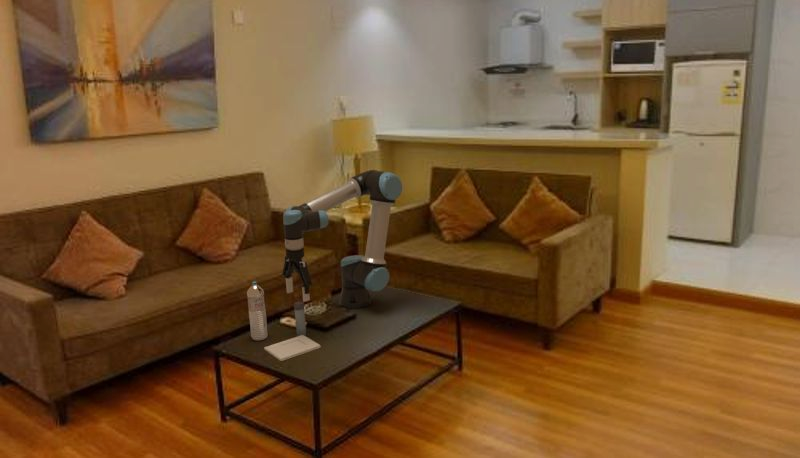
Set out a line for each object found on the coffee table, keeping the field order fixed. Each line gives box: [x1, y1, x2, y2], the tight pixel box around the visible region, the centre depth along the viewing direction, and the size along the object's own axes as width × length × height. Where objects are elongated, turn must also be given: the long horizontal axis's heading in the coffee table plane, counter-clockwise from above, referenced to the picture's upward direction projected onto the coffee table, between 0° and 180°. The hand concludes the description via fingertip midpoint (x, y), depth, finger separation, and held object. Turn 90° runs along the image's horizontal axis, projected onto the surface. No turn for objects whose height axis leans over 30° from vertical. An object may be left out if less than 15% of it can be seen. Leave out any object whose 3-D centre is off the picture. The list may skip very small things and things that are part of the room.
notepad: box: [263, 335, 321, 362], centre depth 253 cm, size 18×14×1 cm
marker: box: [293, 301, 307, 337], centre depth 265 cm, size 4×4×14 cm
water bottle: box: [246, 280, 269, 342], centre depth 262 cm, size 7×7×25 cm
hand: (298, 296), depth 263 cm, fingers open, 13 cm apart
